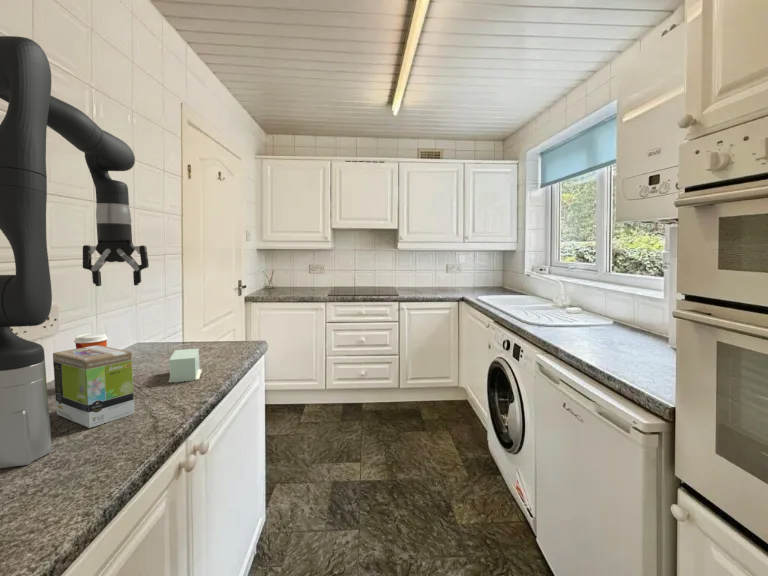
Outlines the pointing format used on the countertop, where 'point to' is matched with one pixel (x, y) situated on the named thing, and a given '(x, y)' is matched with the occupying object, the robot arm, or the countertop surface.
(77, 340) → the paper cup
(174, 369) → the mint green rectangular block
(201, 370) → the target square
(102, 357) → the tea box
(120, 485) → the countertop surface
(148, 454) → the countertop surface
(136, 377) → the countertop surface
